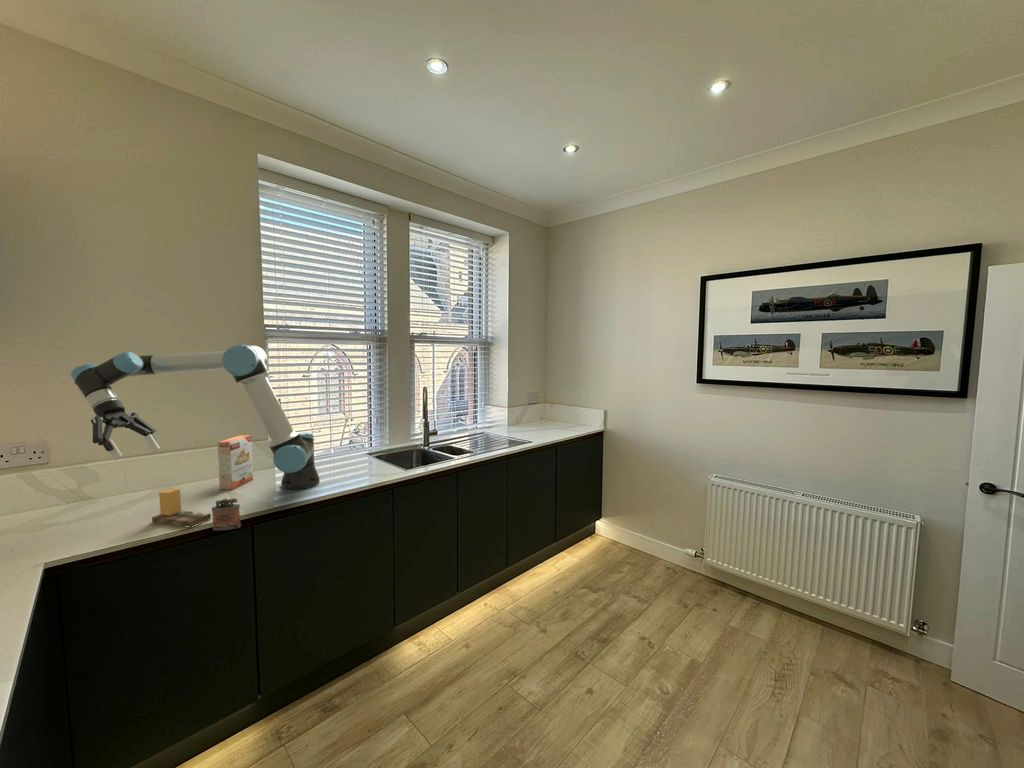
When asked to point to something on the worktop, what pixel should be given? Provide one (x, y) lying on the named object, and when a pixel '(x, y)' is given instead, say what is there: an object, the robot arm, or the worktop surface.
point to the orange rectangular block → (170, 501)
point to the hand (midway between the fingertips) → (138, 454)
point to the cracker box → (235, 461)
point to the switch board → (182, 518)
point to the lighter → (226, 515)
